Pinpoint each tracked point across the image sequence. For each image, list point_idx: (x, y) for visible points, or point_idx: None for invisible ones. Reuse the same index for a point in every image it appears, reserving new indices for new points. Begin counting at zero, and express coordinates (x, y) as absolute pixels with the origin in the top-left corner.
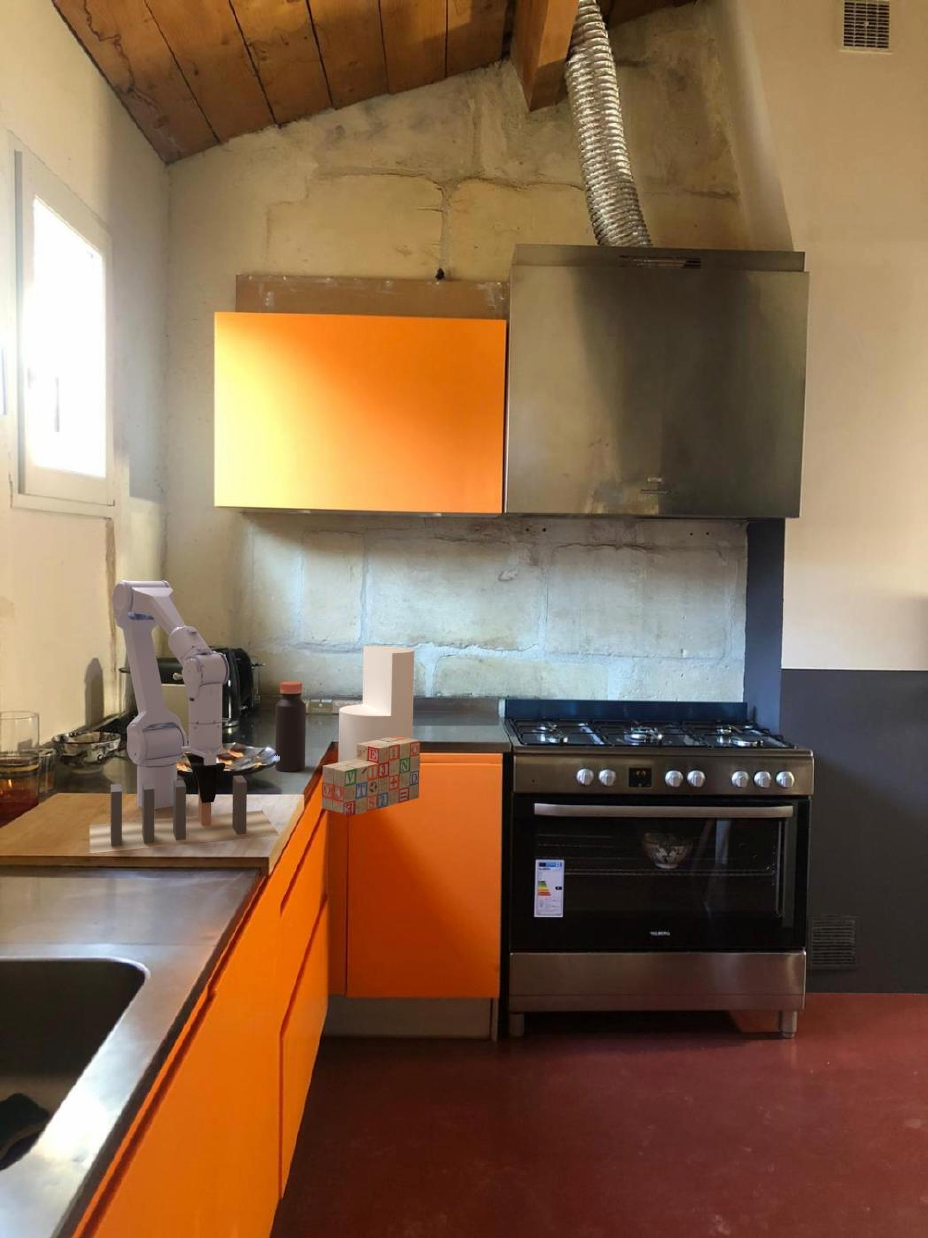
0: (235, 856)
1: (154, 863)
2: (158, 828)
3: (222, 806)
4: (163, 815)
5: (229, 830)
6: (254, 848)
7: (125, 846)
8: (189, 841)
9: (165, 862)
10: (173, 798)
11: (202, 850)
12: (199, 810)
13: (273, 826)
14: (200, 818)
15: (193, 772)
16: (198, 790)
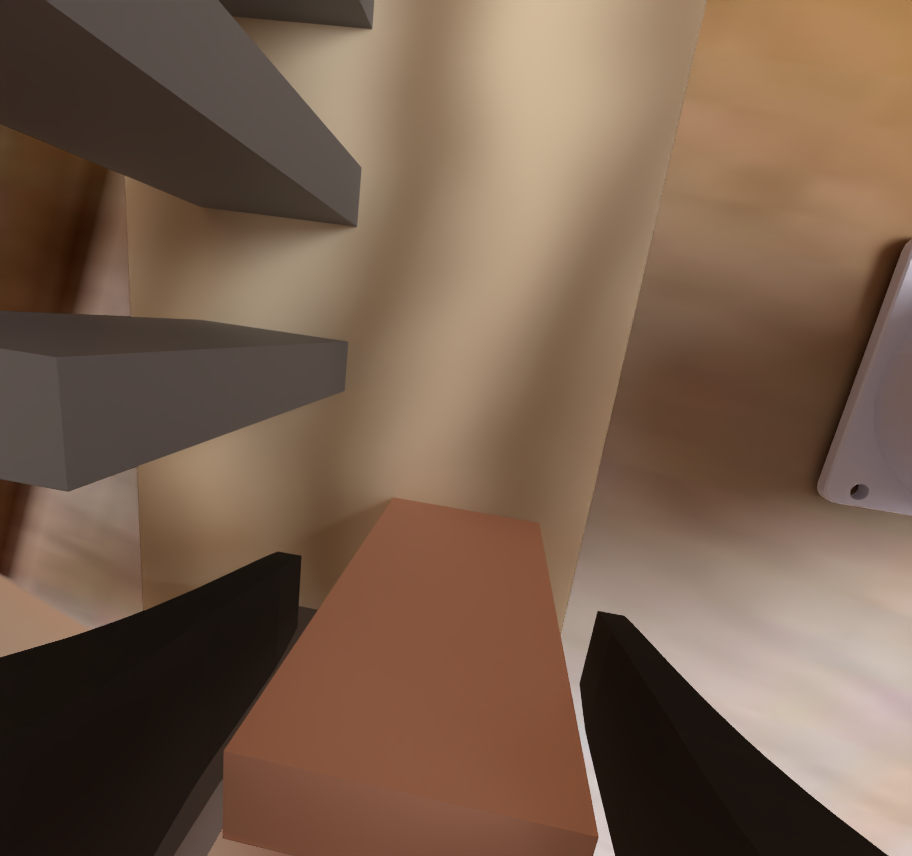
0: (34, 503)
1: (19, 175)
2: (441, 281)
3: (786, 699)
4: (806, 392)
5: None
6: (107, 593)
7: None
8: None
9: (22, 226)
10: (201, 343)
11: None
12: (491, 541)
13: None
14: (442, 517)
15: (683, 748)
16: (597, 631)
